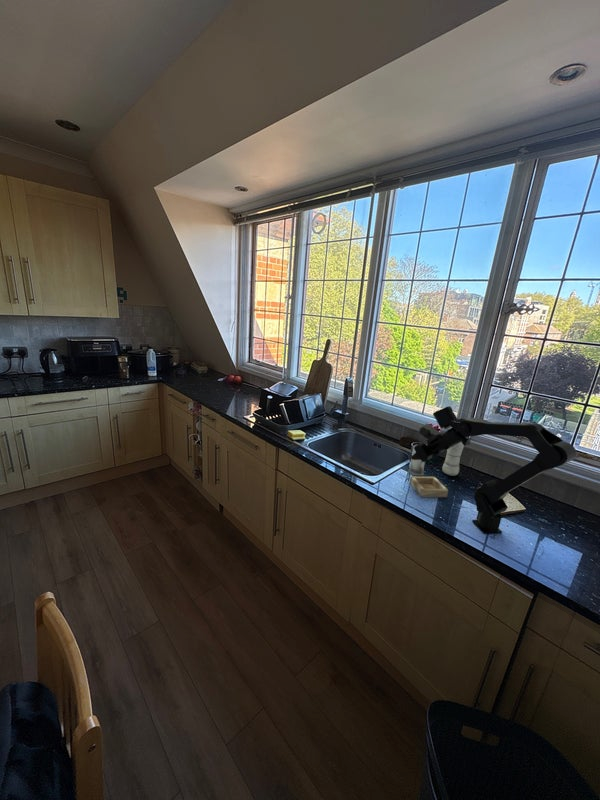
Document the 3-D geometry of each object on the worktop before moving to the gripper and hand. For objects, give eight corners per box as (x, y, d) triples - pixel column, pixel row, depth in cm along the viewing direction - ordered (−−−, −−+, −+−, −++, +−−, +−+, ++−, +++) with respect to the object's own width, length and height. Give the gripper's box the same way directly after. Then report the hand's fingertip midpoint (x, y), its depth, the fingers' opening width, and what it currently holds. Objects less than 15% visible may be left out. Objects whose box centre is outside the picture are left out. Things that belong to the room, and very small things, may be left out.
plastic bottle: (459, 478, 139) (469, 435, 134) (443, 476, 140) (452, 433, 135) (455, 471, 145) (464, 430, 140) (439, 469, 146) (448, 428, 141)
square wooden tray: (446, 497, 124) (448, 490, 123) (421, 497, 123) (422, 490, 122) (433, 483, 134) (434, 476, 133) (409, 482, 132) (410, 476, 132)
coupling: (426, 477, 124) (431, 451, 122) (413, 477, 124) (417, 451, 121) (418, 469, 131) (422, 444, 128) (405, 469, 130) (409, 443, 127)
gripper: (446, 415, 125) (415, 434, 135) (423, 424, 112) (391, 443, 123) (463, 441, 121) (430, 457, 132) (441, 453, 109) (407, 470, 119)
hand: (415, 456), depth 127 cm, fingers closed on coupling, 5 cm apart
